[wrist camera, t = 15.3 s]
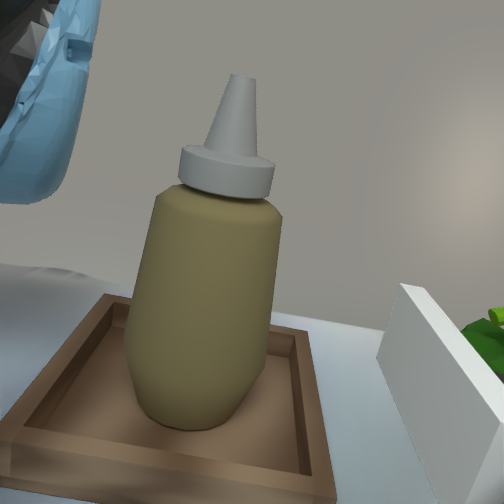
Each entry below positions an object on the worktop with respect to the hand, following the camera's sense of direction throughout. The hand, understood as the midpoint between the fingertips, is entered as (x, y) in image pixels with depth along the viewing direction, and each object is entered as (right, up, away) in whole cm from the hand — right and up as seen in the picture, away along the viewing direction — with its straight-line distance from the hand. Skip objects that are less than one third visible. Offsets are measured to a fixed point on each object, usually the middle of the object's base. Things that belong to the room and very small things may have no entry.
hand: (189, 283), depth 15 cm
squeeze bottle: (-2, -8, +13) cm, 15 cm away
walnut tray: (-2, -8, +13) cm, 15 cm away
